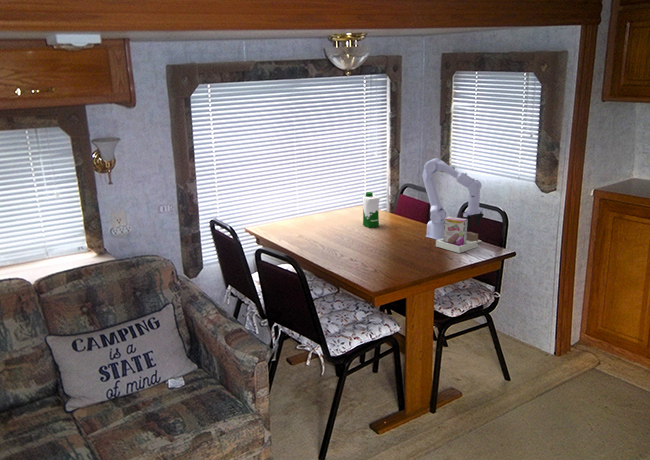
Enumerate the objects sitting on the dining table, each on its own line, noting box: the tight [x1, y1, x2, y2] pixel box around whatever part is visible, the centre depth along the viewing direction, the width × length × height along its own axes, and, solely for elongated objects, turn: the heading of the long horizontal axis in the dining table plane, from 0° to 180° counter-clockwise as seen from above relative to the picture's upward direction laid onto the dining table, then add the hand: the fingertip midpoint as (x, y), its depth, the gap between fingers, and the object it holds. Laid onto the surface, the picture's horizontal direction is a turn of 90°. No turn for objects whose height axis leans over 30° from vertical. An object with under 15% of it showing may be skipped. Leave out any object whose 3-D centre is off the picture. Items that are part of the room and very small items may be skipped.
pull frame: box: [435, 231, 482, 254], centre depth 321 cm, size 15×25×5 cm, turn 130°
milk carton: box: [362, 191, 381, 229], centre depth 358 cm, size 9×9×20 cm
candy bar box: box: [443, 216, 468, 246], centre depth 315 cm, size 11×5×16 cm, turn 60°
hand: (472, 227), depth 325 cm, fingers open, 7 cm apart
